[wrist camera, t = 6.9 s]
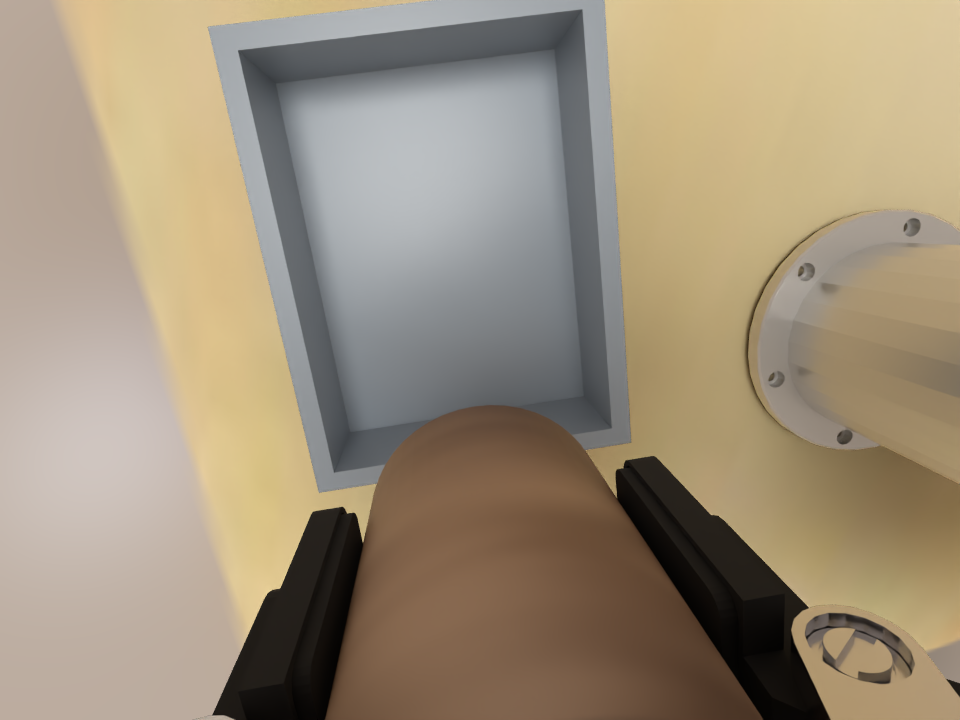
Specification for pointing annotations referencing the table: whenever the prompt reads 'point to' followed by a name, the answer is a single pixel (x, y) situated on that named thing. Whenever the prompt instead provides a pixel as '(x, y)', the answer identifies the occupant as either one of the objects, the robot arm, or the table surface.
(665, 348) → the table surface
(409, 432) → the tote
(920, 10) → the table surface
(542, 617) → the walnut cylinder
